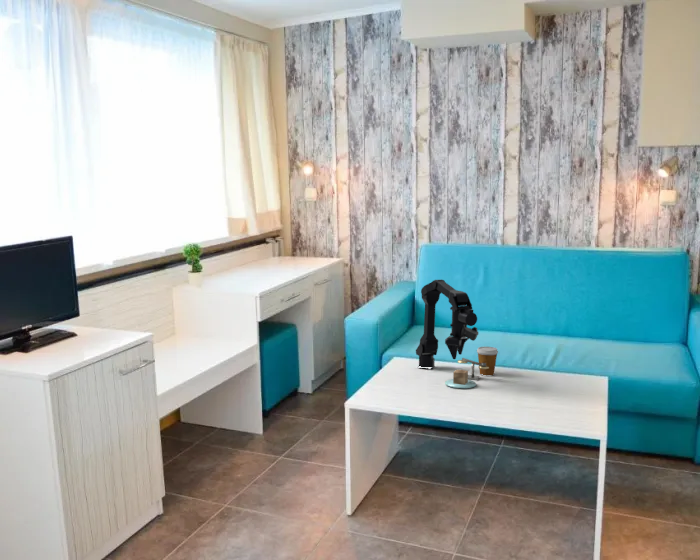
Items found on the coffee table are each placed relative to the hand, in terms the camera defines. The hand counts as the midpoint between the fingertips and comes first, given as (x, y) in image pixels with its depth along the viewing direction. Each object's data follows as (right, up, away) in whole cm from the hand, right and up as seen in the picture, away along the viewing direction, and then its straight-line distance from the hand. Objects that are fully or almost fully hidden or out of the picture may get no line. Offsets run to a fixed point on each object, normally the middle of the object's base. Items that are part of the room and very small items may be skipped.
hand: (457, 356), depth 291 cm
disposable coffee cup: (+16, -10, +15) cm, 24 cm away
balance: (+8, -11, +8) cm, 15 cm away
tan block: (+1, -11, -3) cm, 11 cm away
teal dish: (+1, -12, -3) cm, 12 cm away
